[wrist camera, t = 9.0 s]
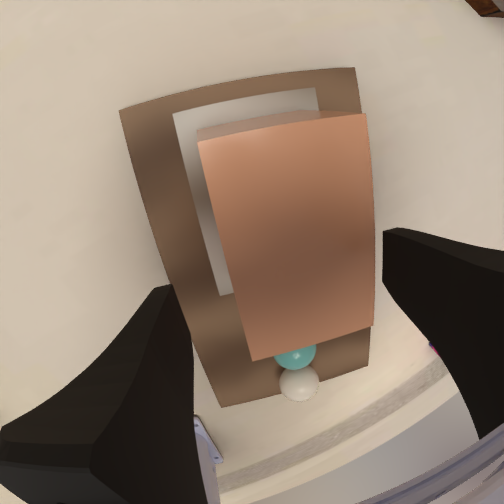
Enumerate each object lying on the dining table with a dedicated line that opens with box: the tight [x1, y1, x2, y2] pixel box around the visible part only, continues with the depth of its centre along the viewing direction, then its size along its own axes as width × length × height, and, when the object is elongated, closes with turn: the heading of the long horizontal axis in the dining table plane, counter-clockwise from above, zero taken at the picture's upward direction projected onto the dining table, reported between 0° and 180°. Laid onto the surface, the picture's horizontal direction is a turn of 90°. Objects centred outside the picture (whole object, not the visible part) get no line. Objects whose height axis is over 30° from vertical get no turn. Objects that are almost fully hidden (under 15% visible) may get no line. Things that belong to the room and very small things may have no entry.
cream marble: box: [279, 365, 319, 402], centre depth 23 cm, size 3×3×3 cm
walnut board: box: [119, 67, 371, 408], centre depth 20 cm, size 23×13×1 cm, turn 11°
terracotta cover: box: [197, 110, 375, 361], centre depth 15 cm, size 9×6×7 cm, turn 11°
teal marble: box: [273, 344, 316, 370], centre depth 21 cm, size 3×3×3 cm
